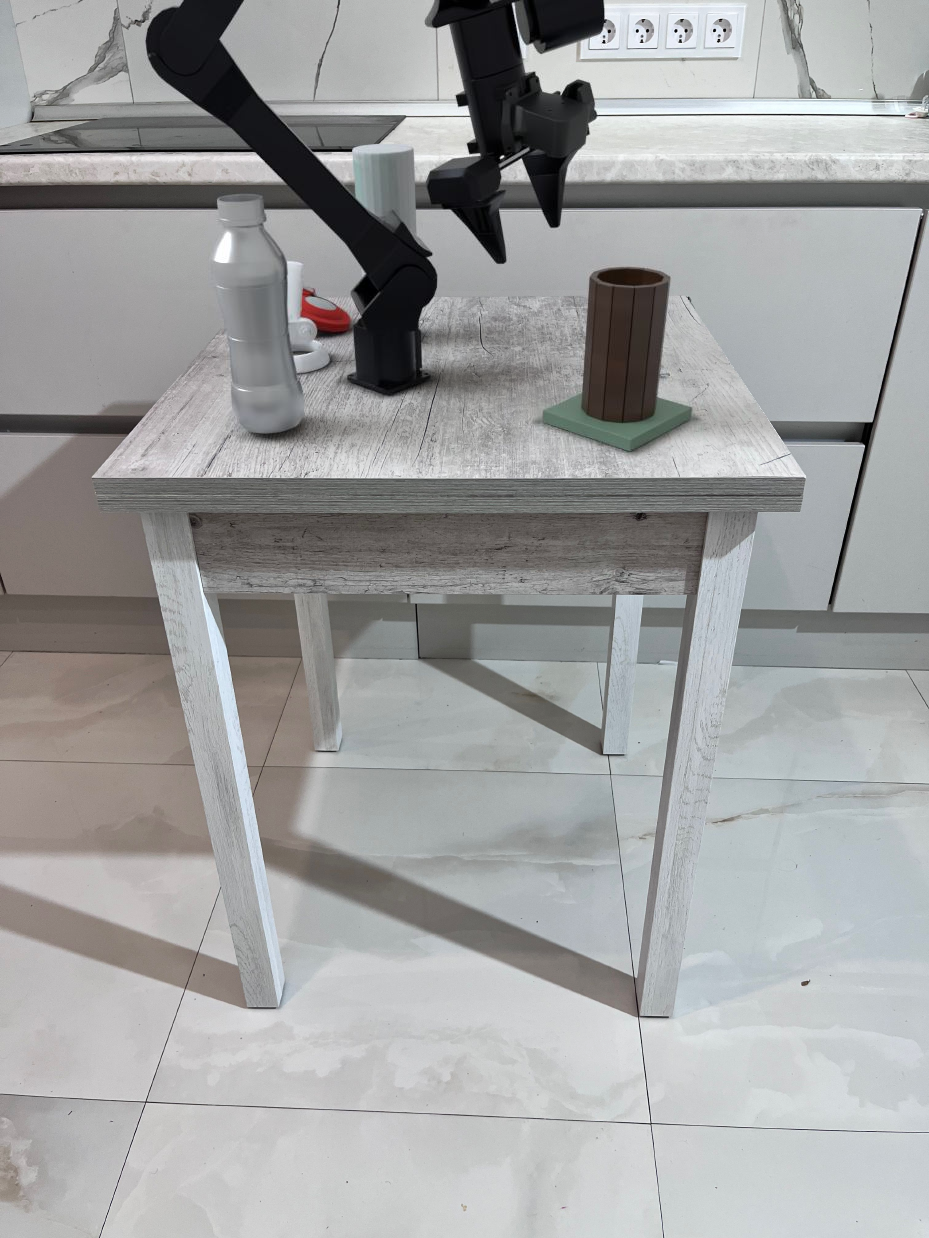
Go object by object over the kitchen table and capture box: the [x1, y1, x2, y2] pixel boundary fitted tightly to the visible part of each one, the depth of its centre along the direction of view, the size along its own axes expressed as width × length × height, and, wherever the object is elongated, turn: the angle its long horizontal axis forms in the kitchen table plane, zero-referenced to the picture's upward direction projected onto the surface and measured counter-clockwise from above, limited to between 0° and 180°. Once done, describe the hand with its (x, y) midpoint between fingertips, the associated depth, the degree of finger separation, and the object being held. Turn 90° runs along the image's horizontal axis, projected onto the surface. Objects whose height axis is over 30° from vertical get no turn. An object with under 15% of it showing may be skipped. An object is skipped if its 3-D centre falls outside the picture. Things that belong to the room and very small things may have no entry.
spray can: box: [351, 143, 418, 278], centre depth 104 cm, size 6×6×20 cm
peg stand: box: [542, 392, 693, 452], centre depth 87 cm, size 10×10×5 cm
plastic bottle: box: [208, 193, 306, 434], centre depth 82 cm, size 6×7×20 cm
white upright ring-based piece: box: [286, 260, 331, 374], centre depth 102 cm, size 8×12×7 cm
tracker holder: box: [300, 284, 352, 333], centre depth 113 cm, size 12×4×10 cm
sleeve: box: [581, 266, 672, 423], centre depth 84 cm, size 7×7×12 cm
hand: (529, 245), depth 93 cm, fingers open, 9 cm apart
